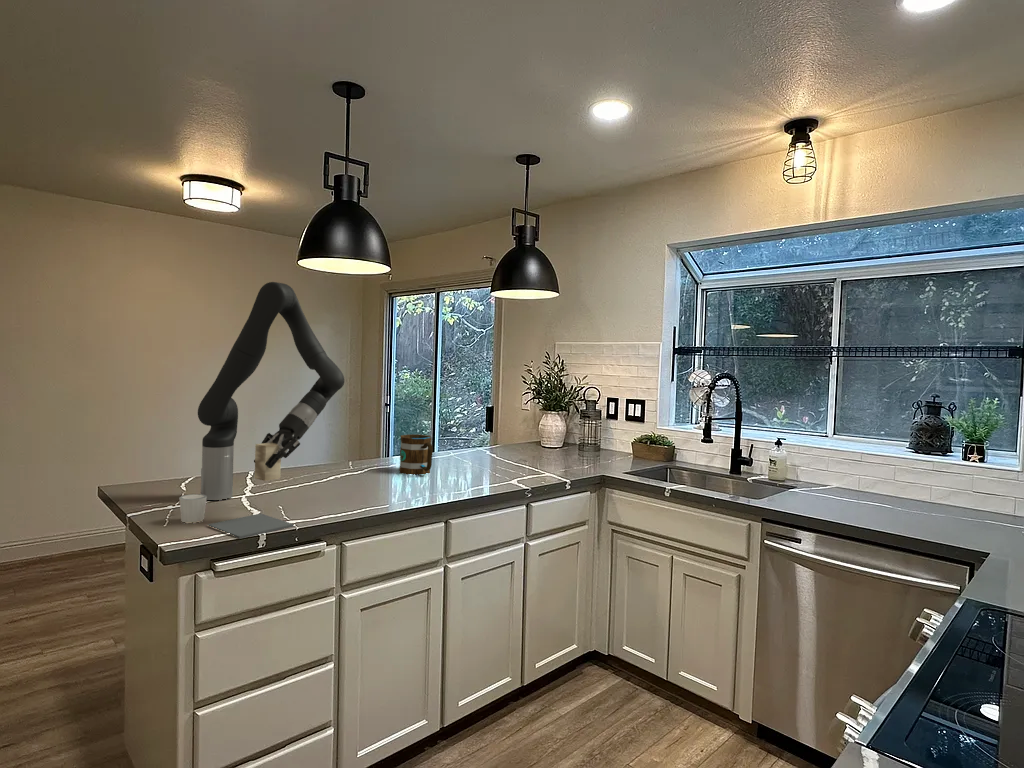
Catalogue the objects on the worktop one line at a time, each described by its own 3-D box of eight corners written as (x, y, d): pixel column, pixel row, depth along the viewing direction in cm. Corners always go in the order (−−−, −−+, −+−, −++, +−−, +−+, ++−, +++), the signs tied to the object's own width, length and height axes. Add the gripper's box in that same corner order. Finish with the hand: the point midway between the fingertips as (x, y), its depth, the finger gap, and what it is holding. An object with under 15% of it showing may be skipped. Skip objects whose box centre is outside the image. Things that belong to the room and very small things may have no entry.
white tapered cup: (210, 518, 174) (211, 494, 174) (199, 524, 167) (199, 499, 167) (186, 517, 174) (186, 493, 173) (173, 523, 167) (174, 498, 167)
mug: (392, 470, 255) (394, 435, 255) (420, 467, 264) (422, 433, 263) (415, 479, 240) (416, 441, 239) (444, 476, 248) (445, 439, 248)
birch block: (254, 478, 175) (255, 444, 174) (270, 475, 179) (270, 442, 179) (264, 480, 172) (265, 446, 172) (280, 478, 176) (281, 444, 176)
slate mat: (207, 526, 166) (207, 524, 166) (260, 515, 179) (260, 513, 179) (239, 538, 157) (239, 536, 157) (293, 526, 170) (293, 524, 170)
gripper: (276, 410, 185) (239, 453, 175) (306, 415, 177) (268, 460, 167) (291, 426, 190) (255, 469, 180) (320, 431, 182) (284, 476, 172)
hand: (262, 464), depth 174 cm, fingers closed on birch block, 5 cm apart
